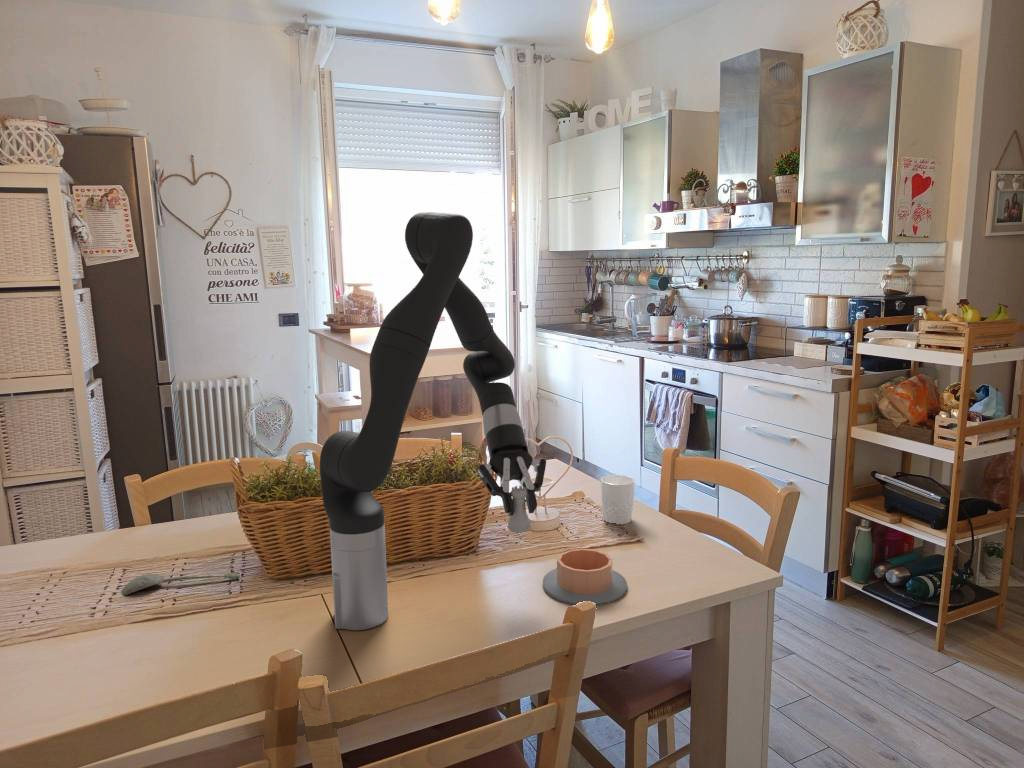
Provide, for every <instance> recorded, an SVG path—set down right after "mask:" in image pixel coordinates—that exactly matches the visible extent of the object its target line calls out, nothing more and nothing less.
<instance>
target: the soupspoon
mask: <svg viewBox="0 0 1024 768" xmlns="http://www.w3.org/2000/svg"><path fill="white" fill-rule="evenodd" d="M211 578H224V579H229V580H235V581H236V580H237V581H241V578H242V572H240V573H239V574H238V573H236V574H232V573H231V574H228V573H225V574H204V575H187V576H176V577H169V578H168V577H167V578H165V577H164V576H162V575H160V574H157V573H147V574H141V575H140V576H137V577H135V578H133V579H132V580H130V581H129V582H128V583H127V584H125V585H124V587H122V589H121V591H120V592H121V595H122V596H127V595H129V594H131V593H136V592H138V591H140V590H143V589H146V588H148V587H152V586H155V585H159V584H163V583H168V582H169V583H170V582H174V581H181V580H193V579H211Z"/></svg>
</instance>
